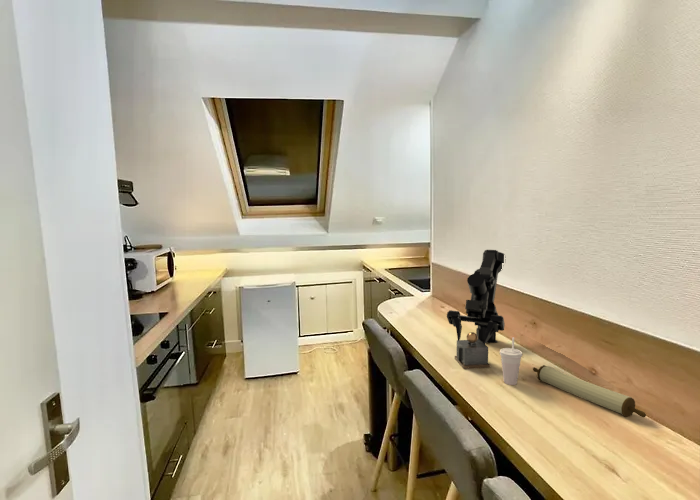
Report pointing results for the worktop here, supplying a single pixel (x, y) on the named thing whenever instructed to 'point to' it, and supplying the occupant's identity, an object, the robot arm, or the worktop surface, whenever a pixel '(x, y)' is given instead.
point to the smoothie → (510, 364)
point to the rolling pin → (588, 391)
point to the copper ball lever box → (472, 354)
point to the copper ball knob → (472, 338)
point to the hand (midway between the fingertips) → (471, 342)
